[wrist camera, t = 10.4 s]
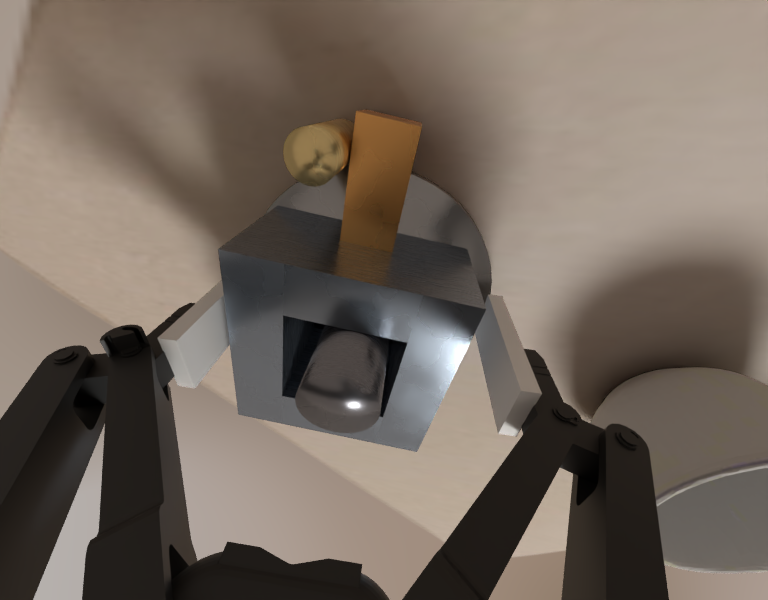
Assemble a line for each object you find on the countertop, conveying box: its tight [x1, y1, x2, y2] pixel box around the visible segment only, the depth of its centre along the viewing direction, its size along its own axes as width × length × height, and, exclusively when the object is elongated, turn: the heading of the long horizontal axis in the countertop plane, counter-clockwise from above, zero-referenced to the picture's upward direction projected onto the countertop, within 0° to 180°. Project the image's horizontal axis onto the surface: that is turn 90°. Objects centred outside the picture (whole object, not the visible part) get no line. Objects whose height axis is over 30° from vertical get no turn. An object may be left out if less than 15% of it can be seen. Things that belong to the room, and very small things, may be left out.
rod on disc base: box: [266, 164, 492, 433], centre depth 15 cm, size 14×14×9 cm
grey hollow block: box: [218, 109, 486, 452], centre depth 15 cm, size 15×10×6 cm, turn 169°
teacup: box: [591, 367, 768, 573], centre depth 18 cm, size 14×11×8 cm
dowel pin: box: [283, 119, 354, 187], centre depth 12 cm, size 2×2×5 cm
